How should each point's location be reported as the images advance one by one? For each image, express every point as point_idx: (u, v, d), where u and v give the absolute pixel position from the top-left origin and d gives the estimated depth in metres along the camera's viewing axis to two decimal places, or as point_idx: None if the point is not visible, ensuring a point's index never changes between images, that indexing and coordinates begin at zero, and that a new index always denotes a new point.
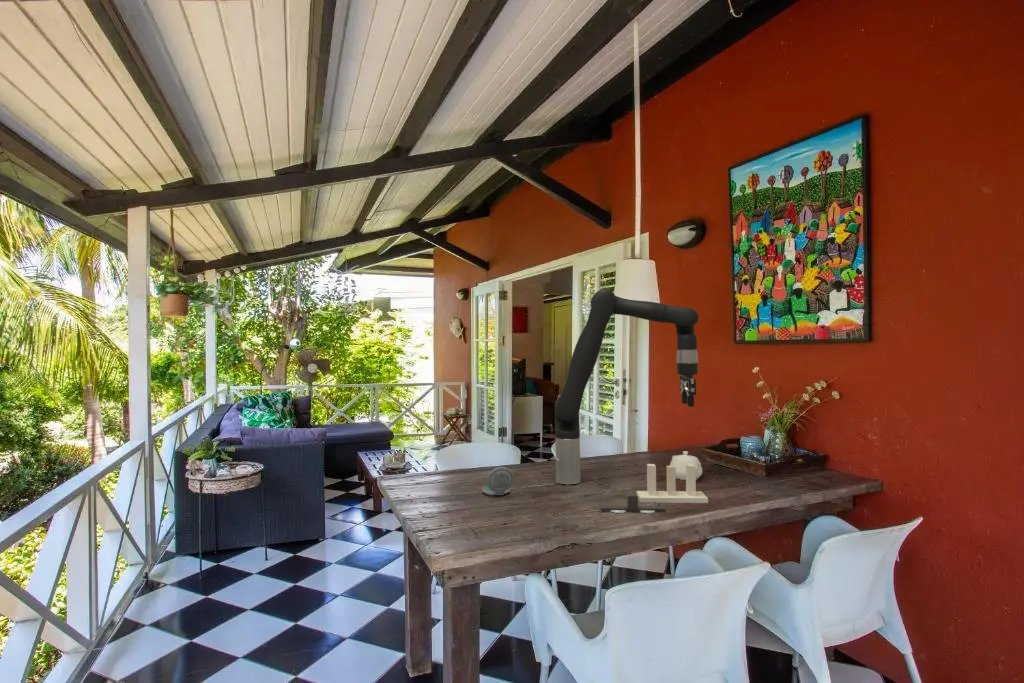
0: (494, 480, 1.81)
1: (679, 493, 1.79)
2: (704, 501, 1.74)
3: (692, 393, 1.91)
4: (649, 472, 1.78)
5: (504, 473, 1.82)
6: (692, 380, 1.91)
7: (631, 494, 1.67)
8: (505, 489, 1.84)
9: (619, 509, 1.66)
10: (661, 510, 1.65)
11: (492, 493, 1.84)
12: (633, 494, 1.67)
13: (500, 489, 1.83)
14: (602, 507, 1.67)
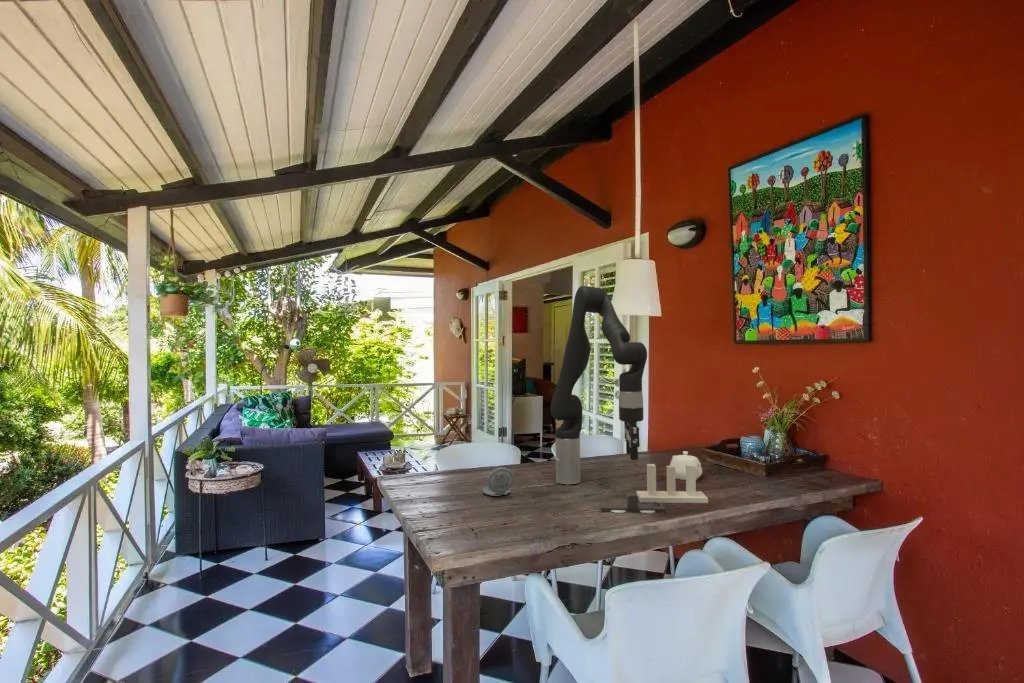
0: (494, 481, 1.81)
1: (679, 493, 1.79)
2: (704, 501, 1.74)
3: (635, 445, 1.60)
4: (649, 472, 1.78)
5: (504, 474, 1.81)
6: (635, 429, 1.60)
7: (631, 494, 1.67)
8: (505, 490, 1.83)
9: (619, 509, 1.66)
10: (661, 510, 1.65)
11: (492, 494, 1.83)
12: (633, 494, 1.67)
13: (500, 490, 1.82)
14: (602, 507, 1.67)
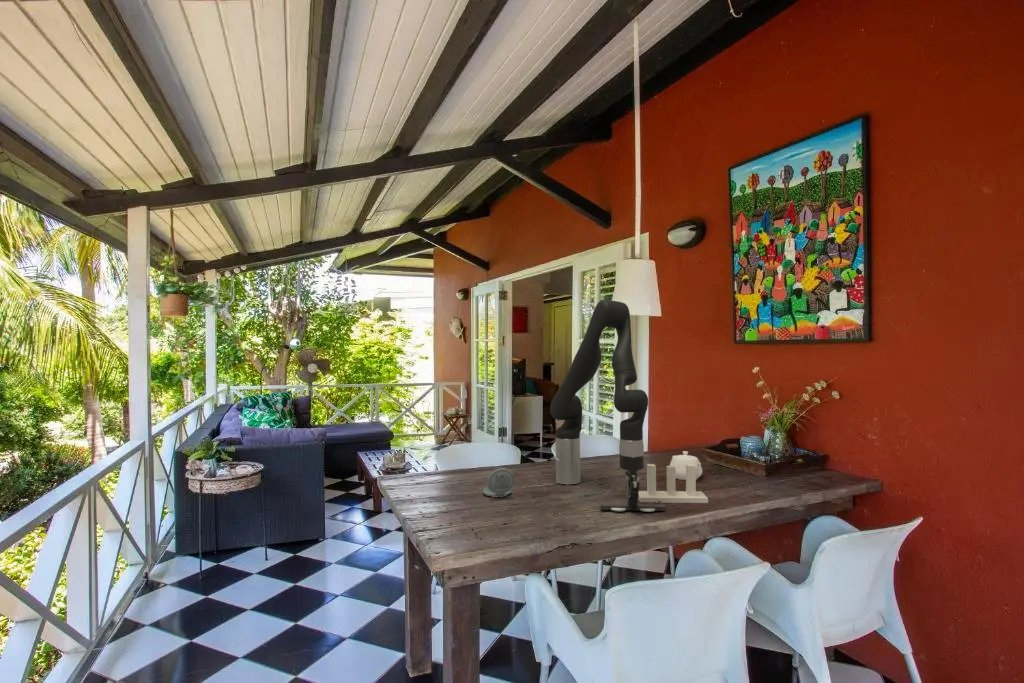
0: (495, 481, 1.80)
1: (679, 493, 1.79)
2: (704, 501, 1.74)
3: (634, 495, 1.62)
4: (649, 472, 1.78)
5: (504, 474, 1.80)
6: (635, 484, 1.60)
7: None
8: (506, 490, 1.82)
9: (619, 507, 1.66)
10: (661, 508, 1.65)
11: (493, 494, 1.83)
12: None
13: (501, 490, 1.81)
14: (602, 505, 1.67)
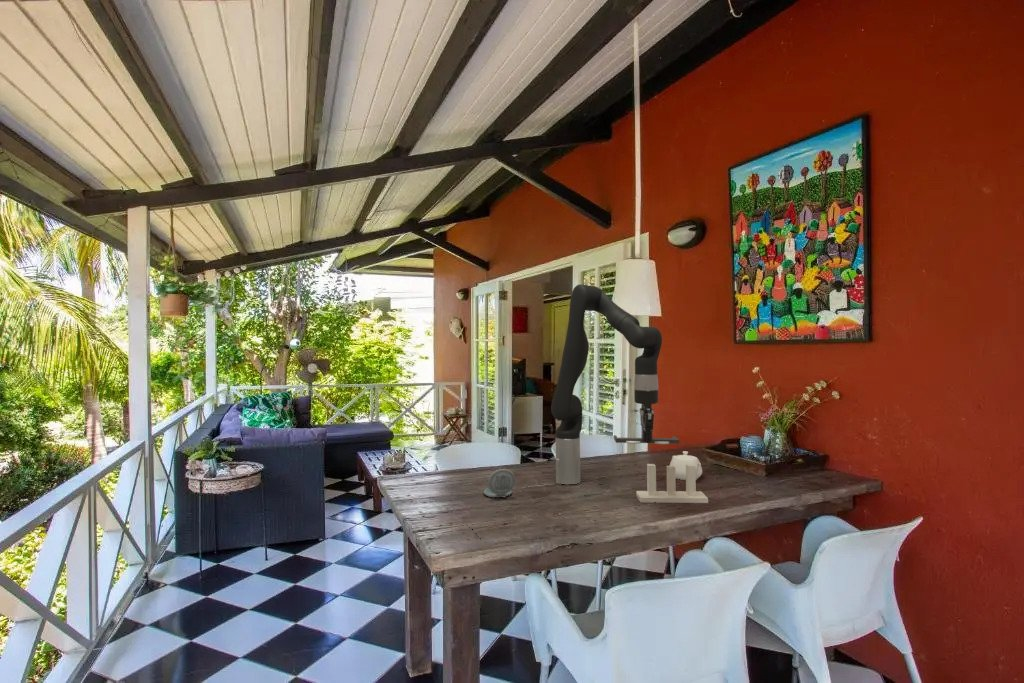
0: (495, 482, 1.79)
1: (679, 493, 1.79)
2: (704, 501, 1.74)
3: (648, 428, 1.67)
4: (649, 472, 1.78)
5: (505, 475, 1.79)
6: (649, 416, 1.65)
7: None
8: (506, 491, 1.81)
9: (634, 440, 1.70)
10: (675, 441, 1.69)
11: (493, 495, 1.82)
12: None
13: (501, 491, 1.80)
14: (617, 438, 1.72)
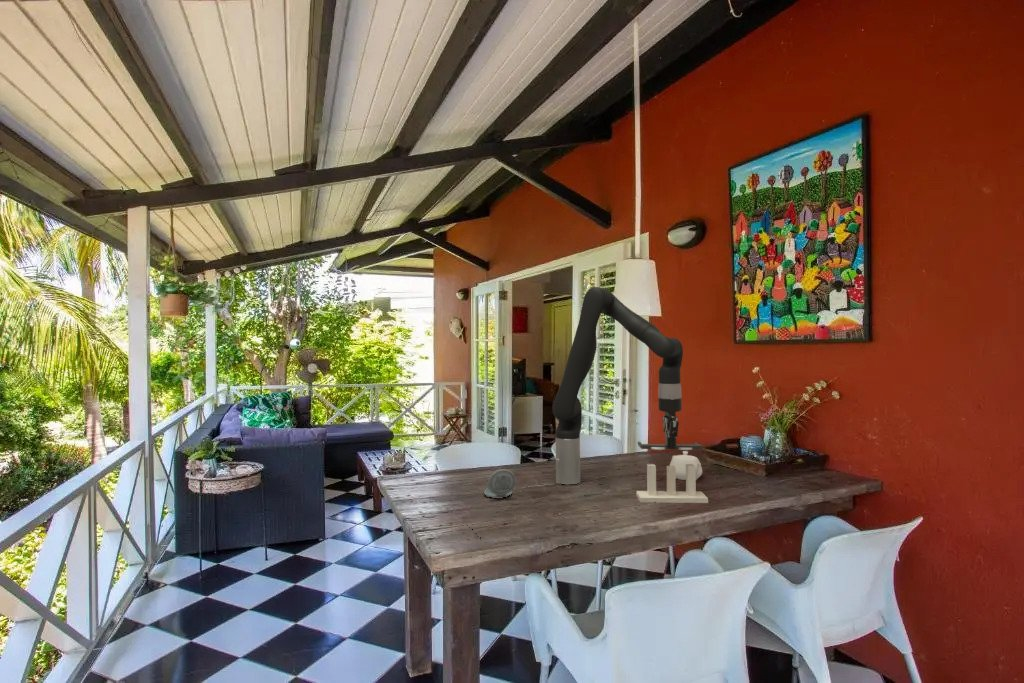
0: (495, 482, 1.78)
1: (679, 493, 1.79)
2: (704, 501, 1.74)
3: (673, 435, 1.74)
4: (649, 472, 1.78)
5: (505, 475, 1.79)
6: (674, 424, 1.72)
7: None
8: (507, 491, 1.81)
9: (659, 446, 1.78)
10: (698, 447, 1.77)
11: (494, 495, 1.81)
12: None
13: (502, 491, 1.80)
14: (642, 445, 1.79)
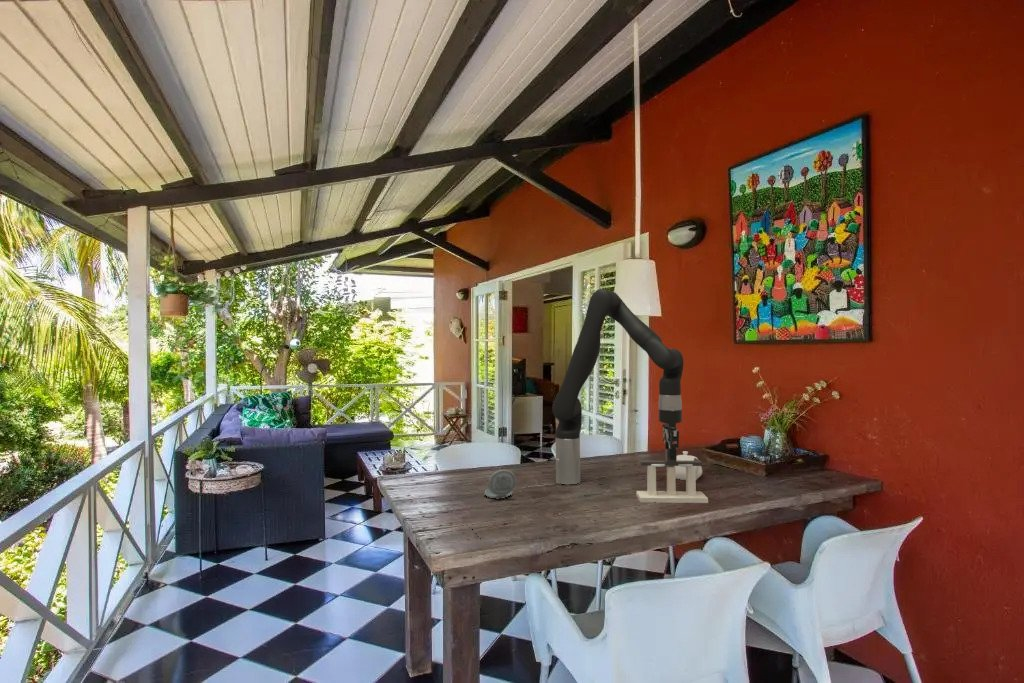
0: (496, 483, 1.78)
1: (679, 493, 1.79)
2: (704, 501, 1.74)
3: (674, 446, 1.73)
4: (649, 472, 1.78)
5: (506, 476, 1.78)
6: (675, 433, 1.72)
7: None
8: (507, 492, 1.80)
9: (659, 463, 1.77)
10: (698, 463, 1.77)
11: (494, 496, 1.81)
12: None
13: (502, 492, 1.79)
14: (643, 461, 1.79)
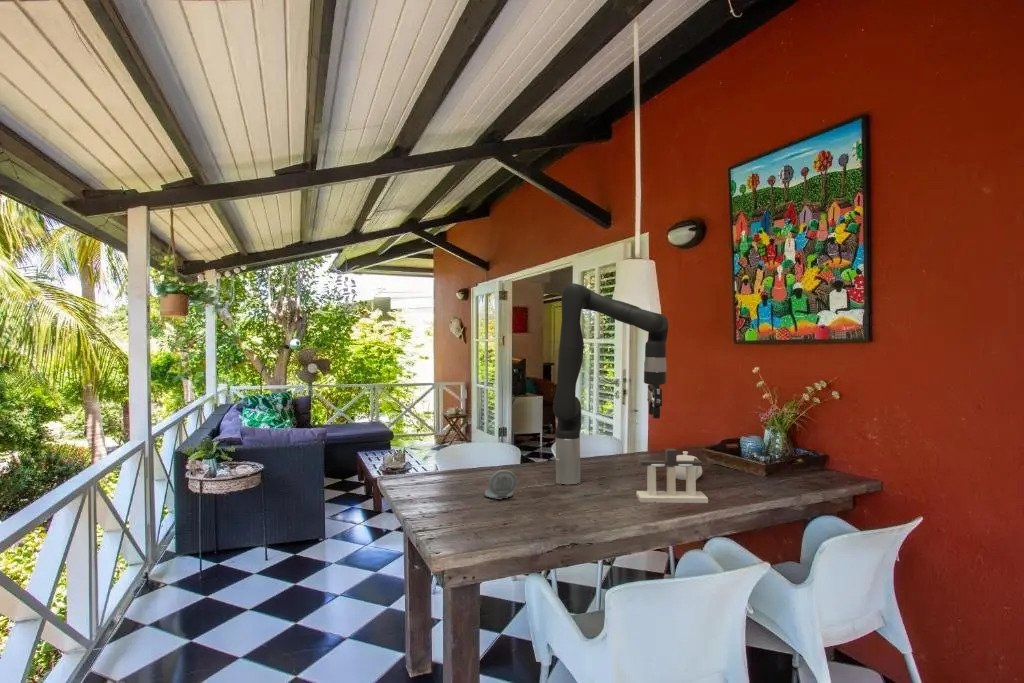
0: (496, 483, 1.77)
1: (679, 493, 1.79)
2: (704, 501, 1.74)
3: (658, 404, 1.78)
4: (649, 472, 1.78)
5: (506, 476, 1.78)
6: (658, 390, 1.78)
7: (670, 449, 1.79)
8: (508, 492, 1.80)
9: (659, 463, 1.77)
10: (698, 463, 1.77)
11: (494, 496, 1.80)
12: (671, 449, 1.79)
13: (503, 492, 1.79)
14: (643, 461, 1.79)
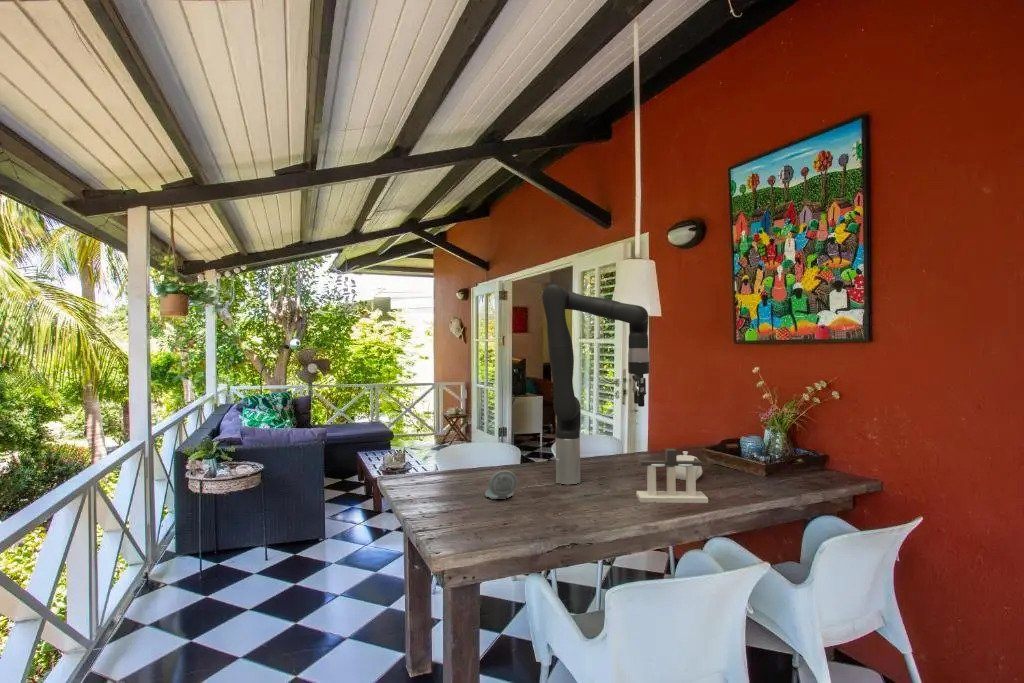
0: (497, 484, 1.77)
1: (679, 493, 1.79)
2: (704, 501, 1.74)
3: (642, 393, 1.86)
4: (649, 472, 1.78)
5: (507, 476, 1.77)
6: (642, 379, 1.86)
7: (670, 449, 1.79)
8: (508, 493, 1.79)
9: (659, 463, 1.77)
10: (698, 463, 1.77)
11: (495, 497, 1.80)
12: (671, 449, 1.79)
13: (503, 493, 1.78)
14: (643, 461, 1.79)
